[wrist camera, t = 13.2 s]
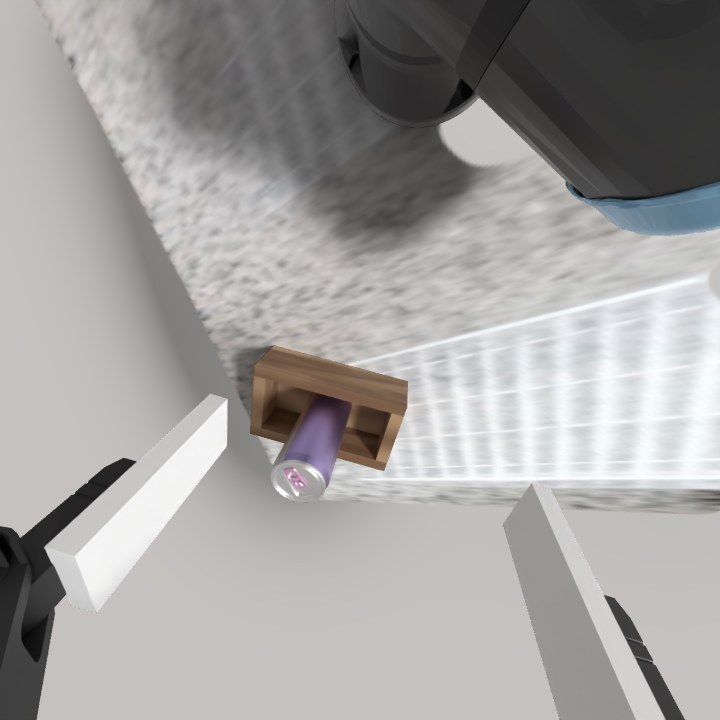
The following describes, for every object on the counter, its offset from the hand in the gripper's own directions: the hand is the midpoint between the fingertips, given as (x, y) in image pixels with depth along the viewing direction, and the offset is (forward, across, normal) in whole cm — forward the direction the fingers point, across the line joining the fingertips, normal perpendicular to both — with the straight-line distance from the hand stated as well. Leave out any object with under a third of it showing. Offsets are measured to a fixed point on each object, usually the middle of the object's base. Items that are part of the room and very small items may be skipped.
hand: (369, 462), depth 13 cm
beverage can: (+26, -5, -16) cm, 31 cm away
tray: (+27, -5, -16) cm, 32 cm away
